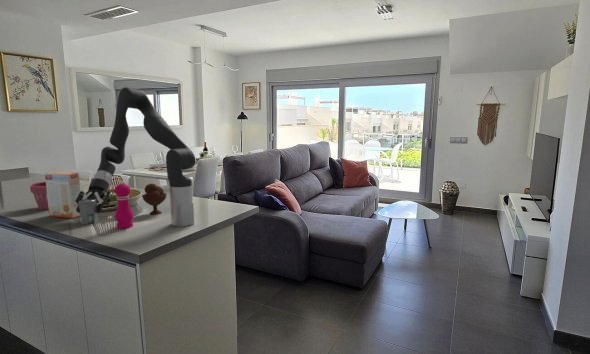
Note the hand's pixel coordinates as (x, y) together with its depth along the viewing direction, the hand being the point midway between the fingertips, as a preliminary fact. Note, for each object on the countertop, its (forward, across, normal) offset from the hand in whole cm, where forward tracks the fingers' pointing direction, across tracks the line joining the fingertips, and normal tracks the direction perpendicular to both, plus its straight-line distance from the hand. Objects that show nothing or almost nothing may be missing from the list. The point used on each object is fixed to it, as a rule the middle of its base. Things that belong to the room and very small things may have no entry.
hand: (87, 212), depth 151 cm
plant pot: (-14, -36, +21) cm, 44 cm away
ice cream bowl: (-8, +23, +15) cm, 29 cm away
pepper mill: (+7, +19, 0) cm, 20 cm away
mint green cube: (+3, 0, +4) cm, 5 cm away
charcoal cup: (+3, 0, +4) cm, 5 cm away
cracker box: (-3, -17, +10) cm, 20 cm away
